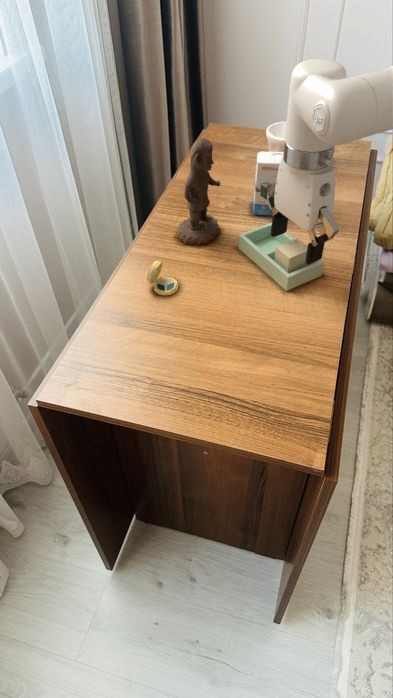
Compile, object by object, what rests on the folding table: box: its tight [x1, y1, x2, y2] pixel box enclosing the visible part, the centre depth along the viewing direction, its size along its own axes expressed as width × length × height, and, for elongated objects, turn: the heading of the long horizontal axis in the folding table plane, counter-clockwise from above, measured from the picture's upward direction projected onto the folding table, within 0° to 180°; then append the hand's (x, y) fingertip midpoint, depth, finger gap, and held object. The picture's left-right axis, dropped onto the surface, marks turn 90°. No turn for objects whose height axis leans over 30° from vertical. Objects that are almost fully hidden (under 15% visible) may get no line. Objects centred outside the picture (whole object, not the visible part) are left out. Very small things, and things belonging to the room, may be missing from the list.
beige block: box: [274, 238, 309, 274], centre depth 90 cm, size 4×5×4 cm
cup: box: [265, 120, 287, 152], centre depth 116 cm, size 10×10×9 cm
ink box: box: [252, 150, 283, 217], centre depth 103 cm, size 9×5×12 cm, turn 84°
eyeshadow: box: [146, 260, 179, 296], centre depth 89 cm, size 4×5×5 cm
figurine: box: [177, 137, 221, 246], centre depth 94 cm, size 9×8×20 cm
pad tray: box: [237, 221, 325, 292], centre depth 94 cm, size 8×15×3 cm, turn 31°
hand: (295, 247), depth 88 cm, fingers open, 9 cm apart
